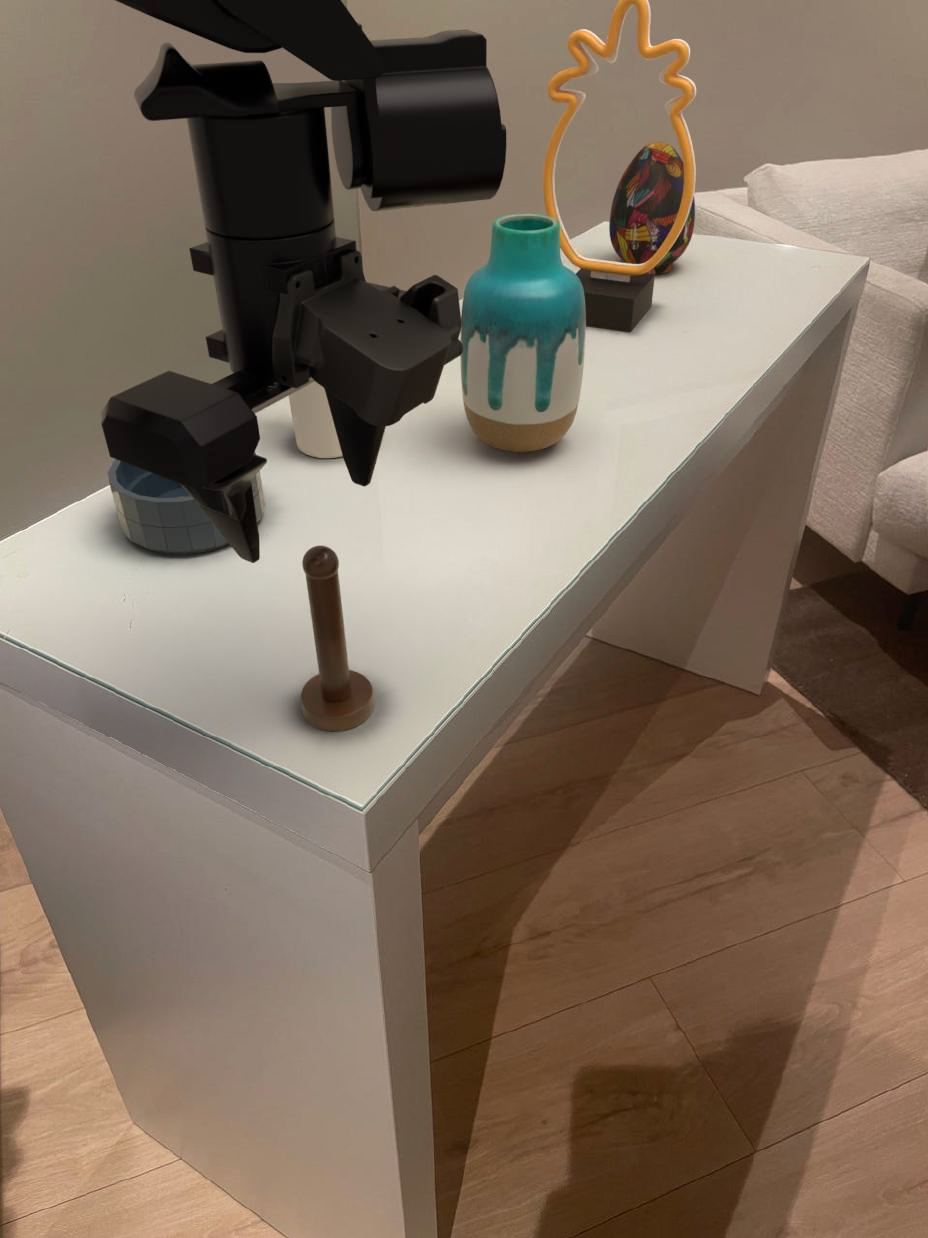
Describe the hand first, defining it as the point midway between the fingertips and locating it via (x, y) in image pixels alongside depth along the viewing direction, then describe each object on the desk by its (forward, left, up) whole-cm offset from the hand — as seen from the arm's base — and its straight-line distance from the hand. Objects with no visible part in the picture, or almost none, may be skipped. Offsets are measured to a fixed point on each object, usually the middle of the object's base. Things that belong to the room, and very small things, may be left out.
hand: (308, 519), depth 52 cm
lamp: (-16, +69, -13) cm, 72 cm away
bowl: (-23, +10, -13) cm, 28 cm away
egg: (-19, +87, -13) cm, 90 cm away
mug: (-24, +27, -13) cm, 38 cm away
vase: (-8, +36, -13) cm, 39 cm away
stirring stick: (+1, -1, -13) cm, 13 cm away
